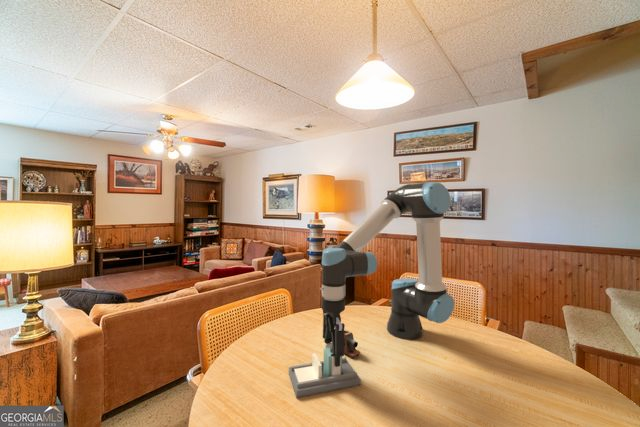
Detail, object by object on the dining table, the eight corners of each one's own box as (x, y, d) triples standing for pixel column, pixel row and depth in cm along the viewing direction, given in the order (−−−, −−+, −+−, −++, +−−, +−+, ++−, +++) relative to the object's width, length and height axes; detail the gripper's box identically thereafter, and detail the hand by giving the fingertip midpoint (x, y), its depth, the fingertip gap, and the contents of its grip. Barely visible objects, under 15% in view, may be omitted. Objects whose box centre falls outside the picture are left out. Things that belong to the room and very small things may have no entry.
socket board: (345, 363, 95) (345, 355, 95) (360, 385, 83) (360, 375, 83) (288, 373, 89) (288, 364, 89) (296, 398, 77) (296, 387, 77)
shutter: (315, 367, 89) (315, 353, 89) (321, 380, 82) (321, 365, 82) (294, 370, 87) (294, 356, 87) (299, 384, 80) (299, 369, 80)
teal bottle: (336, 370, 90) (336, 342, 89) (341, 378, 85) (342, 349, 85) (323, 372, 88) (324, 344, 88) (328, 381, 84) (328, 351, 84)
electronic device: (352, 359, 97) (352, 339, 97) (333, 349, 105) (334, 329, 105) (360, 355, 100) (360, 335, 100) (342, 345, 108) (342, 326, 107)
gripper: (313, 289, 94) (313, 355, 95) (332, 308, 76) (331, 390, 77) (334, 287, 97) (333, 352, 97) (356, 306, 79) (355, 385, 79)
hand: (332, 368), depth 87 cm, fingers open, 6 cm apart
